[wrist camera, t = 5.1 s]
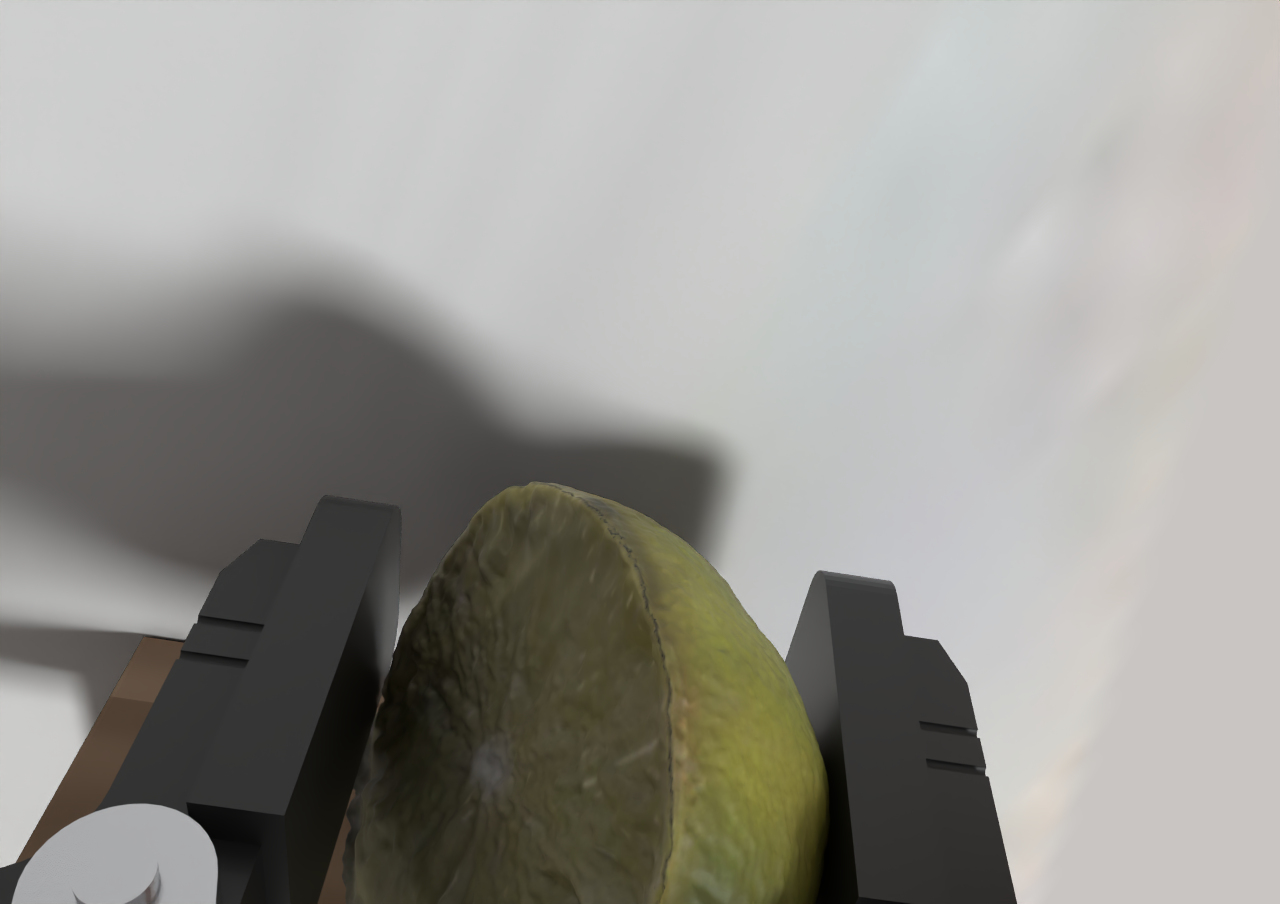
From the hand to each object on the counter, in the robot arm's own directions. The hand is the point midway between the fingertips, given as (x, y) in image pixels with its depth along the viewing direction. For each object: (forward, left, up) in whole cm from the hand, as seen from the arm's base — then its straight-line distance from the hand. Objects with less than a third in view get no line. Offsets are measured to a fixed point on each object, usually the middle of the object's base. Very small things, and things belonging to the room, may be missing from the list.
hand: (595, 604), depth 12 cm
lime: (0, 0, 0) cm, 0 cm away
